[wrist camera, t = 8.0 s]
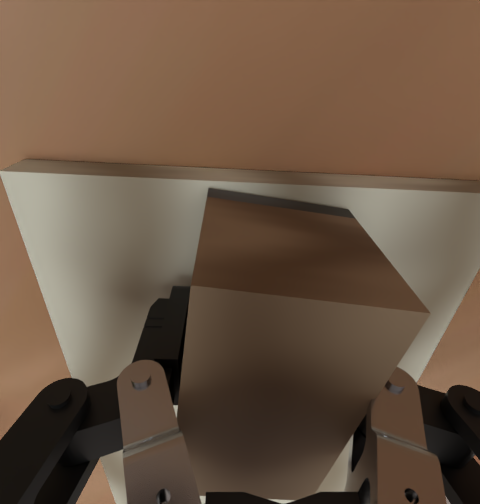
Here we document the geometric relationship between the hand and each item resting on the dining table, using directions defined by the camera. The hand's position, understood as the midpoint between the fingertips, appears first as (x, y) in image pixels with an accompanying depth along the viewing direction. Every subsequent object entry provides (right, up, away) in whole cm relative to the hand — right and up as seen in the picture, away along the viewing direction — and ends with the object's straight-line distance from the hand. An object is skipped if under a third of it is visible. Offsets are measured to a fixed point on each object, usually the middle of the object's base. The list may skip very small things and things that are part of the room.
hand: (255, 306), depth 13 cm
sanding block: (0, 0, +1) cm, 1 cm away
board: (0, -6, +6) cm, 8 cm away
